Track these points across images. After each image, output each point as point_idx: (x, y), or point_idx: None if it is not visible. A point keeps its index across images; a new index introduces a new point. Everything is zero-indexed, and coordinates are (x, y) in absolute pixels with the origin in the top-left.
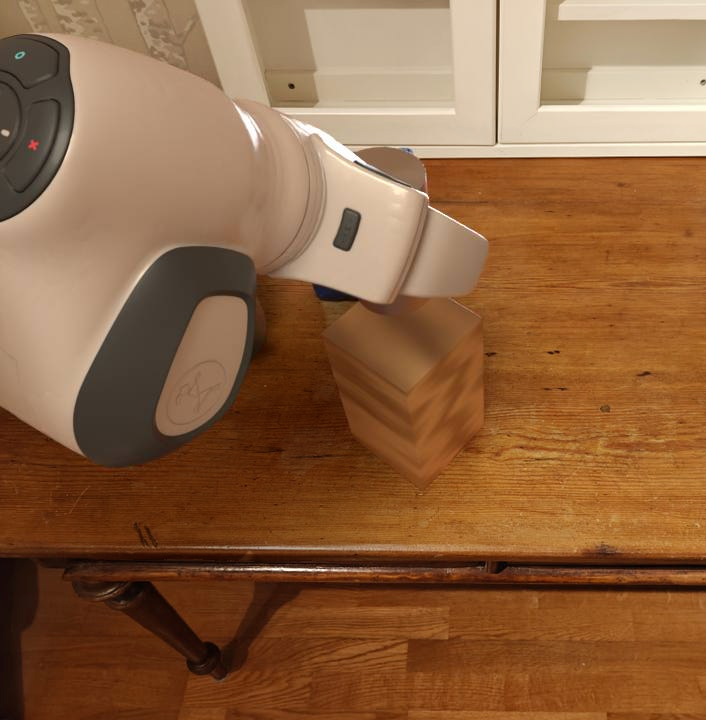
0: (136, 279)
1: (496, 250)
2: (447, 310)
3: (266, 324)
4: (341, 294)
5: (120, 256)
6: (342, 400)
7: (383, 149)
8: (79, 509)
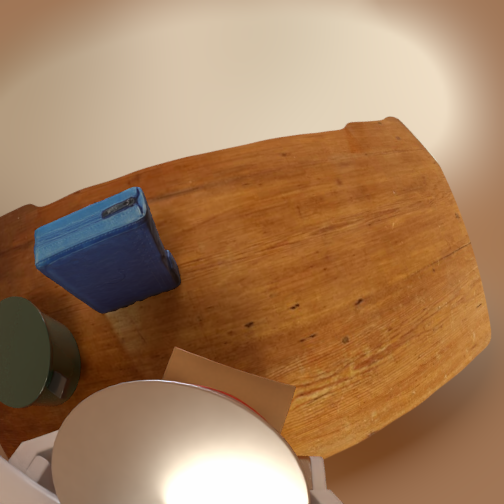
0: None
1: (218, 227)
2: (254, 391)
3: (76, 344)
4: (116, 307)
5: None
6: None
7: (127, 398)
8: None
